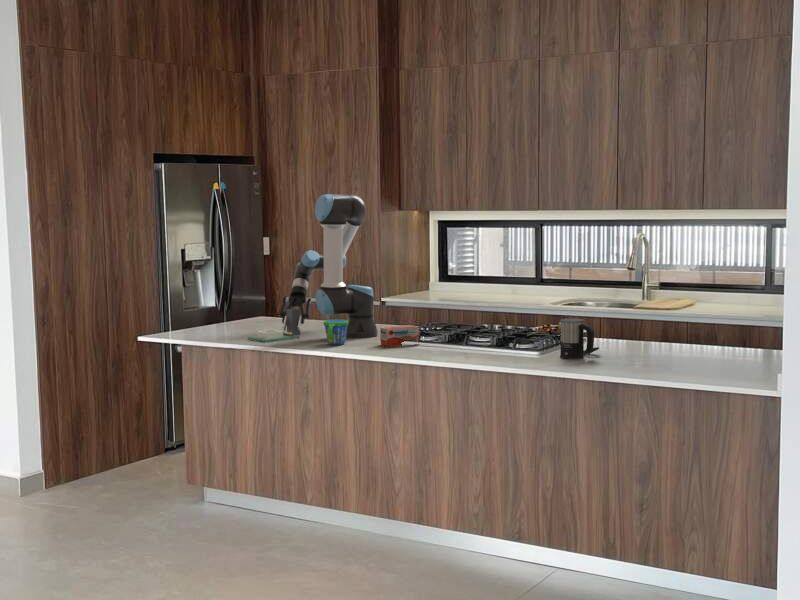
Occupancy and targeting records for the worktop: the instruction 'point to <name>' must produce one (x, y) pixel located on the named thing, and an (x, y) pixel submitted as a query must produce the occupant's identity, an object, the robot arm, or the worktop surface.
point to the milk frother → (575, 339)
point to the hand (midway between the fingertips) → (291, 328)
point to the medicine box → (398, 335)
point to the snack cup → (336, 331)
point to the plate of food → (551, 327)
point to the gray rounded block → (293, 321)
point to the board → (272, 336)
